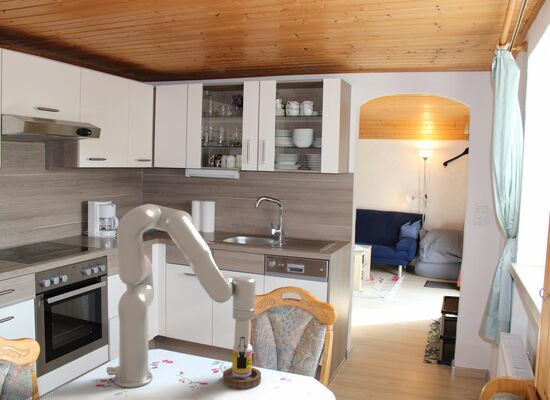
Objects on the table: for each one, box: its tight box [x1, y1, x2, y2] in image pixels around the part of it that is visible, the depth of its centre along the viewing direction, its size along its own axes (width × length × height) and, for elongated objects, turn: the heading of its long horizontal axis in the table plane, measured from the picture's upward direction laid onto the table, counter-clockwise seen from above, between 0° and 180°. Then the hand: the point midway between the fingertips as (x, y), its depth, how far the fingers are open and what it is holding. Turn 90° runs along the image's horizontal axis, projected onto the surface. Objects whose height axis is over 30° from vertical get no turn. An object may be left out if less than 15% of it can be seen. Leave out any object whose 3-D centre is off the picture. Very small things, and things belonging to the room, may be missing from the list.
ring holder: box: [222, 366, 262, 390], centre depth 172 cm, size 13×13×3 cm
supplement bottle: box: [231, 337, 253, 377], centre depth 172 cm, size 7×7×13 cm
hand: (241, 363), depth 172 cm, fingers closed on supplement bottle, 6 cm apart
